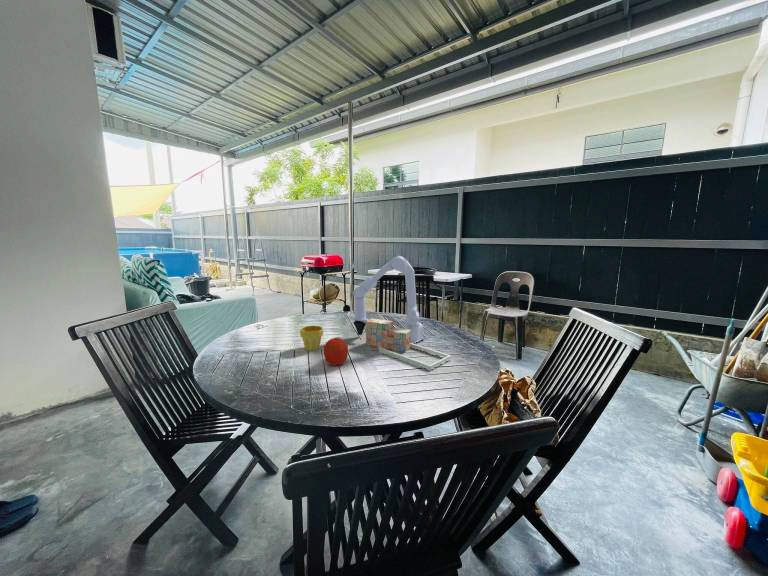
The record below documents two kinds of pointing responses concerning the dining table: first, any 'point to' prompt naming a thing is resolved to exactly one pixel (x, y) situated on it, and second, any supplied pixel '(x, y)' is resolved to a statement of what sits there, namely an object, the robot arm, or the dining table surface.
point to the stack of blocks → (387, 335)
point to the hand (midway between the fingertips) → (360, 334)
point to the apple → (335, 351)
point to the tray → (416, 360)
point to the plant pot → (311, 336)
